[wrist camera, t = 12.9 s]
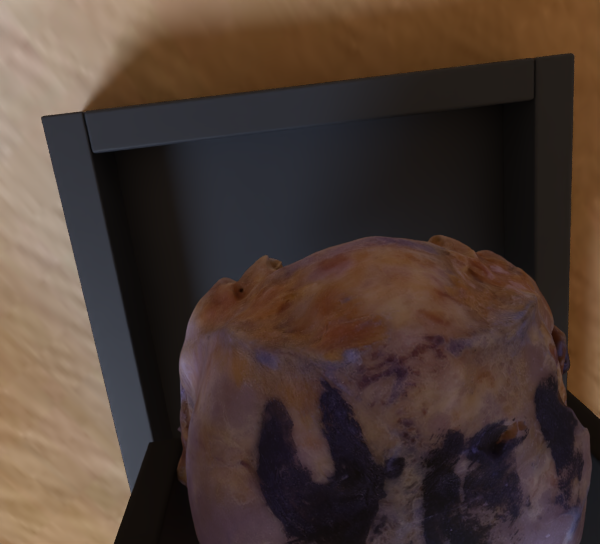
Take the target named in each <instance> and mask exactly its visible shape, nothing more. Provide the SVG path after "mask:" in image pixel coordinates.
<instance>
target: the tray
mask: <svg viewBox="0 0 600 544" xmlns="http://www.w3.org/2000/svg"><path fill="white" fill-rule="evenodd" d="M573 97H574V54H572V53H568V54H560V55H552V56H543V57H536V58H526V59H518V60H510V61H501V62H493V63H485V64H476V65H468V66H459V67H451V68H443V69H434V70H426V71H418V72H409V73H401V74H392V75H384V76H376V77H367V78H359V79H350V80H342V81H334V82H325V83H317V84H309V85H300V86H292V87H283V88H275V89H267V90H258V91H250V92H242V93H233V94H225V95H216V96H208V97H200V98H191V99H183V100H174V101H166V102H158V103H149V104H141V105H133V106H124V107H116V108H107V109H99V110H91V111H86V112H73V113H65V114H57V115H48V116H42V117H41V119H42V124H43V128H44V132H45V136H46V140H47V144H48V149H49V153H50V157H51V161H52V165H53V170H54V174H55V178H56V182H57V186H58V190H59V195H60V199H61V203H62V207H63V211H64V215H65V220H66V224H67V228H68V232H69V236H70V241H71V245H72V249H73V253H74V257H75V261H76V266H77V270H78V274H79V278H80V282H81V286H82V291H83V295H84V299H85V303H86V307H87V312H88V316H89V320H90V324H91V328H92V332H93V337H94V341H95V345H96V349H97V353H98V357H99V362H100V366H101V370H102V374H103V378H104V383H105V387H106V391H107V395H108V399H109V403H110V408H111V412H112V416H113V420H114V424H115V428H116V433H117V437H118V441H119V445H120V449H121V453H122V458H123V462H124V466H125V470H126V474H127V479H128V483H129V487H130V491H131V493H132V490H133V488H134V485H135V482H136V479H137V476H138V473H139V470H140V468H141V465H142V462H143V459H144V456H145V453H146V450H147V447H148V445H149V442H155V441H163V440H170V439H177V438H181V431H178V430H177V429H178V428H179V427H180V425H181V424H180V410H181V393H180V374H179V359H180V354H181V350H182V347H183V344H184V341H185V336H186V330H187V326H188V322H189V320H190V317H191V315H192V313H193V311H194V309H195V307H196V305H197V303H198V302H199V301H200V299H201V298H202V297H203V296H204V295H205V294H206V293H207V292H208V291H209V290H210V289H211V288H212V287H213V285H214V284H215V283H216V282H217V281H218V280H220V279H221V278H230V279H232V280H234V281H236V282H237V281H239V279H240V278H241V277H242V275H243V274H244V273H245V272H246V270H247V269H248V268H250V267H251V266H252V265H253V264H254V263H255V262H256V261H257V260H258V259H259V258H261V257H262V256H265V255H268V257H269V258H272V259H277V260H279V261H281V262H282V263H281V264H282V266H283V267H284V266H287V265H290V264H292V263H294V262H296V261H299V260H301V259H303V258H305V257H307V256H309V255H311V254H313V253H315V252H318V251H321V250H323V249H326V248H329V247H333V246H336V245H340V244H343V243H347V242H350V241H354V240H357V239H360V238H364V237H373V236H381V237H391V238H405V239H412V240H418V241H426V242H428V241H429V239H430V238H431V237H432V236H435V235H443V236H446V237H449V238H453V239H455V240H457V241H460V242H461V243H463V244H465V245H467V246H468V247H470V248H471V249H472V250H474V251H475V252H478V251H481V250H489V251H492V252H494V253H495V254H497V255H500V256H501V257H503V258H504V259H506V260H507V261H508V262H510V263H511V264H513V265H514V266H516V267H519V268H521V269H522V270H523V271H524V272H525V273H527V274H528V275H529V276H530V277H531V278H532V279H533V280H534V281H535V282H536V284H537V286H538V288H539V290H540V292H541V293H542V295H543V296H544V298H545V300H546V301H547V303H548V305H549V307H550V310H551V312H552V316H553V320H554V325H555V326H556V327H557V328H559V329H560V330H561V331H562V332H563V333H564V334H565V336H566V344H567V349H568V313H569V270H570V226H571V183H572V140H573ZM562 379H563V384H564V386H565V388H566V389H567V372H566V373H565V374H563V375H562Z"/></svg>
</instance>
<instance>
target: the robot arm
mask: <svg viewBox="0 0 600 544" xmlns="http://www.w3.org/2000/svg"><path fill="white" fill-rule="evenodd" d="M565 389H566V388H565ZM566 393H567V400H566V402H567V406H568V407H570V408H571V409H572V410H573V411H574V413H575V415H576V417H577V418H578V420H579V422H580V423H581V425H582V426H583V427H584V428H587V429H588V432H589V435H590V455H591V461H592V471H591V479H590V486H589V491H588V495H587V503H586V512H585V520H584V527H583V533H582V538H581V541H580V543H579V544H600V419H599V418H598V417H597V416H596V415H595V414H594V413H593V412H591V411H590V410H589V409H588V408H587V407H586V406H585V405H584V404H583V403H581V402H580V401H579V400H578V399H577V398H576V397H575V396H574V395H572V394H571V393H570V392H569V391H568V390H567V389H566ZM182 452H183V446H182V441H181V438H177V439H170V440H163V441H155V442H149V445H148V447H147V450H146V453H145V456H144V459H143V462H142V465H141V468H140V470H139V473H138V476H137V479H136V482H135V485H134V488H133V490H132V493H131V496H130V499H129V502H128V505H127V508H126V510H125V513H124V516H123V519H122V522H121V525H120V528H119V530H118V533H117V536H116V539H115V542H114V544H200V543H199V541H198V538H197V535H196V531H195V527H194V523H193V518H192V513H191V508H190V503H189V496H188V488H187V487H186V486H185V485H183V484H182V483H181V482H179V481H178V479H177V467H178V463H179V461H180V458H181V455H182Z"/></svg>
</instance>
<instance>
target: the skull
mask: <svg viewBox="0 0 600 544" xmlns="http://www.w3.org/2000/svg"><path fill="white" fill-rule="evenodd" d="M281 263H282V262H281V261H279V260H277V259H272V258H269V257H268V255H265V256H262V257H261V258H259V259H258V260H257V261H256V262H255V263H254V264H253V265H252V266H251V267H250V268H248V269H247V270H246V272H245V273H244V274H243V275H242V277H241V278H240V279H239V281H237V282H236V281H234V280H232V279H230V278H221V279H220V280H218V281H217V282H216V283H215V284H214V285H213V287H212V288H211V289H210V290H209V291H208V292H207V293H206V294H205V295H204V296H203V297H202V298H201V299H200V301H199V302H198V303H197V305H196V307H195V309H194V311H193V313H192V315H191V317H190V320H189V322H188V326H187V330H186V336H185V341H184V344H183V347H182V350H181V354H180V359H179V374H180V393H181V410H180V424H181V425H180V427H179V428H178V429H177V430H178V431H181V441H182V446H183V452H182V455H181V458H180V461H179V463H178V467H177V479H178V481H179V482H181V483H182V484H183V485H185V486H186V487H187V488H188V496H189V503H190V508H191V513H192V518H193V523H194V527H195V531H196V535H197V538H198V541H199V543H200V544H579V543H580V541H581V538H582V533H583V527H584V520H585V512H586V503H587V495H588V491H589V486H590V479H591V471H592V461H591V455H590V435H589V432H588V429H587V428H584V427H583V426H582V425H581V423H580V422H579V420H578V418H577V417H576V415H575V413H574V411H573V410H572V409H571V408H570V407H568V406H567V402H566V400H567V393H566V389H565V386H564V384H563V379H562V375H563V374H565V373H566V372H567V371H568V370H569V368H570V360H569V355H568V349H567V344H566V336H565V334H564V333H563V332H562V331H561V330H560V329H559V328H557V327H556V326H555V325H554V320H553V316H552V312H551V310H550V307H549V305H548V303H547V301H546V300H545V298H544V296H543V295H542V293H541V292H540V290H539V288H538V286H537V284H536V282H535V281H534V280H533V279H532V278H531V277H530V276H529V275H528V274H527V273H525V272H524V271H523V270H522V269H521V268H519V267H516V266H514V265H513V264H511V263H510V262H508V261H507V260H506V259H504V258H503V257H501V256H500V255H497V254H495V253H494V252H492V251H489V250H481V251H478V252H475V251H474V250H472V249H471V248H470V247H468V246H467V245H465V244H463V243H461V242H460V241H457V240H455V239H453V238H449V237H446V236H443V235H435V236H432V237H431V238H430V239H429V241H428V242H426V241H418V240H412V239H405V238H391V237H381V236H373V237H364V238H360V239H357V240H354V241H350V242H347V243H343V244H340V245H336V246H333V247H329V248H326V249H323V250H321V251H318V252H315V253H313V254H311V255H309V256H307V257H305V258H303V259H301V260H299V261H296V262H294V263H292V264H290V265H287V266H284V267H283V266H282V264H281Z"/></svg>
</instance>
